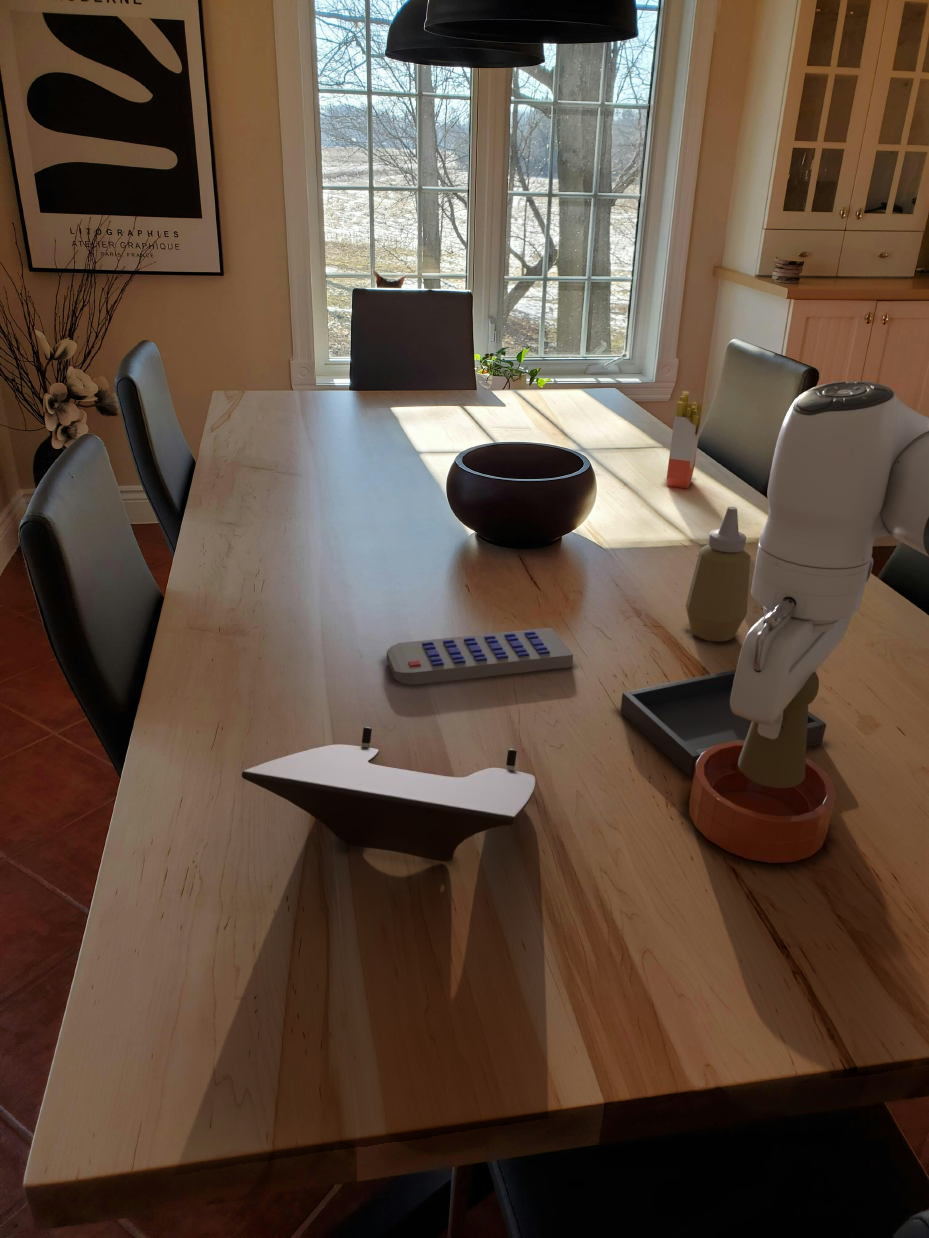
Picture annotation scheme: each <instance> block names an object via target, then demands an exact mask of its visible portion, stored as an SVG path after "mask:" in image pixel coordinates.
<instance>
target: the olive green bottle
mask: <svg viewBox="0 0 929 1238" xmlns="http://www.w3.org/2000/svg"><path fill="white" fill-rule="evenodd" d="M819 678H820V677H819V675H818V673H817V671H816V672H813V673H812V675H811V676H810V677H809V679H808V680H807V681H806V683H805V685H804V686H803V687H802V689H801V690H800V691H799V692H798V693H797V695H796V696H795V697H794V698H793V699H792V701H791V702H790V703H789V704H788V705H787V707H786V708H785V709H784V710H783V716H784V717H785V721H784V725H783V730H782V732H781V733H780V734H779V736H778V737H777V738H776V739H769V738H767V737H764V736H761V735H760V734H759V733H758V731H757V729H758V724H759V723H757V722H754V721H752V722H751V725H750V728H749V731H748V734H747V737H746V740H745V743H744V745H743V748H742V751H741V754H740V757H739V761H738V766H739V769H740V771H741V772H742V773H743V774H744V775H745V776H746V777H748V778H749V779H751V780H752V781H754V782H756V783H759V784H761V785H764V786H769V787H773V788H788V787H794V786H796V785H798V784H800V783H801V782H802V781H803V780H804V779H805V762H806V758H807V748H806V742H807V722H808V711H809V705H810V704H812V703H813V701H814V700H815V699H816V698H817V696H818V694H819V689H820V679H819Z"/></svg>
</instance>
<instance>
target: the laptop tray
mask: <svg viewBox="0 0 929 1238" xmlns="http://www.w3.org/2000/svg"><path fill="white" fill-rule="evenodd" d="M372 732H373V729H372V727H370V726H364V727H363V730H362V736H361V737H362V738H361V745H360V746H359V745H352V744H329V745H324V746H320V747H315V748H309V749H306V750H303V751H299V752H296V753H292V754H288V755H286V756H282V757H278V758H275V759H273V760H270V761H269V760H268V761H266V762H264V763H261V764H258V765H255V766H252V767H250V768H247V769H244V770H242V772H241V778H242V779H243V780H246V781H247V782H250V783H252V784H254V785H256V786H258V787H261V788H262V789H264V790H267V791H268V792H270V793H272V794H274V795H277V796H278V797H280V798H283V799H284V800H285V801H288V802H290V803H291V804H293V805H294V806H296V807H298V808H299V809H301V810H303V811H304V812H306V813H308V814H309V815H310V816H312V817H313V818H314V819H316V820H317V821H318V822H320V823H321V824H322V825H324V826H325V827H326V828H327V829H329V831H330V832H331V833H332V834H333V835H334V836H335V837H336V838H337V839H338V840H339V841H340V842H342V843H344V844H345V845H349V846H355V847H360V848H367V849H375V850H382V851H389V852H394V853H400V854H404V855H409V856H414V857H418V858H423V859H428V860H432V861H437V862H443V863H449V862H452V861H453V859H454V855H455V852H456V850H457V848H458V847H459V846H460V845H461V844H462V843H463V842H464V841H466V840H467V839H469V838H470V837H473V836H474V835H476V834H479V833H483V832H485V831H489V830H492V829H496V828H500V827H505V826H510V825H513V824H514V822H515V820H516V818H517V817H518V816H519V815H520V814H521V813H522V812H523V810H524V809H525V808H526V807H527V806H528V803H529V802H530V800H531V798H532V796H533V795H534V791H535V787H536V778H535V776H534V775H533V774H531V773H527V772H522V771H519V770H515V767H516V761H517V753H518V751H517V750H516V749H514V748H509V749H507V755H506V764H505V765H506V768H502V767H488V768H485V769H482V770H479V771H476V772H473V773H471V774H470V775H467V776H460V777H459V776H449V775H448V776H447V775H440V774H433V773H427V772H421V771H414V770H410V769H402V768H396V767H390V766H384V765H379V764H374V763H371V762H372V761H374V759H375V758H376V757H377V756H378V755H379V751H380V750H379V749H378V748H375V747H374V748H373V747H370V744H371V740H372Z"/></svg>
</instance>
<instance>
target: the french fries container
mask: <svg viewBox="0 0 929 1238" xmlns="http://www.w3.org/2000/svg"><path fill="white" fill-rule="evenodd" d="M681 394H682V395H680V396H679V400H678V401H677V403H676V412H675V415H674V418H673V426H672V433H671V441H670V448H669V449H670V450H669V457H668V465H667V473H666V486H667V487H670V488H671V487H672V488H680V489H686V490H687V489H689V487H690V484H691V483H692V479H693V474H694V469H695V465H696V459H697V458H696V457H697V452H698V443H699V438H700V437H699V436H700V430H701V423H702V413H703V403H701V402H694V401H693V402H692V403H689V398H690V391H686V390H682V392H681Z"/></svg>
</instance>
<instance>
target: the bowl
mask: <svg viewBox="0 0 929 1238" xmlns="http://www.w3.org/2000/svg"><path fill="white" fill-rule="evenodd" d="M744 743H745V741H732V742H727V743H723V744H719V745H715V746H713V747H711V748H709V749H708V750H706V751H704V752H703V753H702V754H701V756H700V757H699V759H698V760H697V762H696V766H695V772H694V776H693V779H692V784H691V791H690V796H689V805H688V806H689V810H688V811H689V816H690V818H691V820H692V822H693V824H694V826H695V828H696V829H697V830H698V831H699V832H700V833H701V834H702V835H703V837H705V838H706V839H707V840H708V841H710V842H711V843H713V844H715V845H716V846H718V847H720V848H721V849H723V850H724V851H726V852H728V853H730V854H733V855H736V856H738V857H741V858H744V859H747V860H750V861H756V862H763V863H768V864H780V863H782V864H783V863H795V862H798V861H801V860H804V859H807V858H810V857H812V856H813V855H815V854H816V853H817V852H818V851H819V850H820V849H822V848H823V845H824V842H825V840H826V837H827V834H828V829H829V826H830V820H831V817H832V815H833V809H834V806H835V802H836V798H837V794H836V789H835V786H834V785H835V784H834V783H833V781H832V780H831V778H830V776H829V775H828V774H827V772H826V771H825V770H824V769H823V768H822V767H820V766H819V765H817V764H816V763H815V762H813V761H812V760H811V759H809V758H807V757H806V762H805V779H804V780H803V781H802V782H801V783H800V784H798V785H796V786H794V787H788V788H773V787H769V786H764V785H761V784H759V783H756V782H754V781H752V780H751V779H749V778H748V777H746V776H745V775H744V774H743V773H742V772H741V771H740V769H739V766H738V761H739V757H740V754H741V751H742V748H743V745H744Z"/></svg>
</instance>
